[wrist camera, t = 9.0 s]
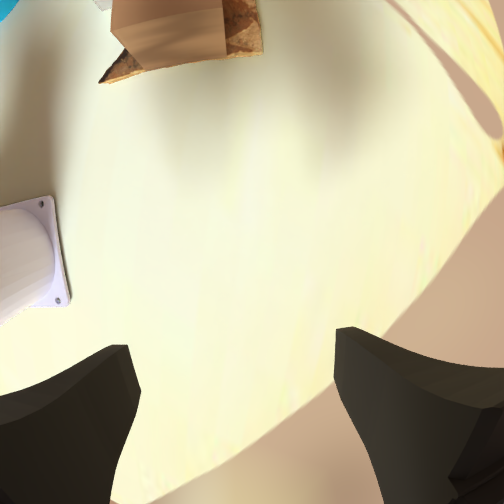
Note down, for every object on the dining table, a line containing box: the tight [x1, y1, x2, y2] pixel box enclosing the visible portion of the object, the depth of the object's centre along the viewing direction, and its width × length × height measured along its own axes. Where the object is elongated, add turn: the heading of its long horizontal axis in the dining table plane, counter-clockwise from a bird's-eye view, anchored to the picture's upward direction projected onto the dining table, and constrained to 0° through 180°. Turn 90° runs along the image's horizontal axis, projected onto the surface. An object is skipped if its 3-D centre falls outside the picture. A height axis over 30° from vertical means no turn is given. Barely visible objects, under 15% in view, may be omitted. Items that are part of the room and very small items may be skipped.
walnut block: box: [110, 0, 227, 72], centre depth 12 cm, size 5×5×6 cm
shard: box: [98, 0, 263, 84], centre depth 15 cm, size 11×8×2 cm
